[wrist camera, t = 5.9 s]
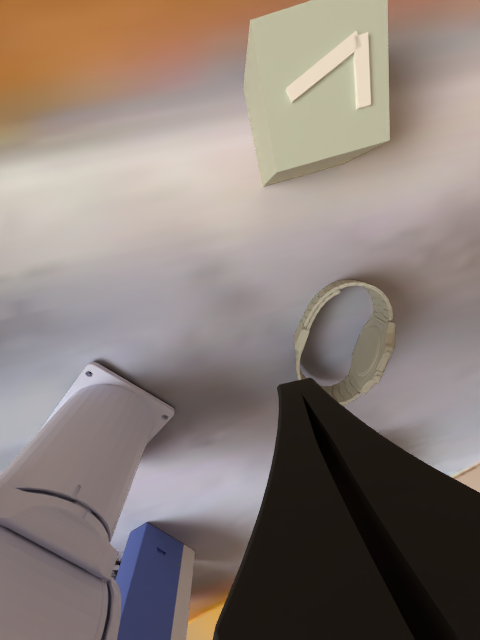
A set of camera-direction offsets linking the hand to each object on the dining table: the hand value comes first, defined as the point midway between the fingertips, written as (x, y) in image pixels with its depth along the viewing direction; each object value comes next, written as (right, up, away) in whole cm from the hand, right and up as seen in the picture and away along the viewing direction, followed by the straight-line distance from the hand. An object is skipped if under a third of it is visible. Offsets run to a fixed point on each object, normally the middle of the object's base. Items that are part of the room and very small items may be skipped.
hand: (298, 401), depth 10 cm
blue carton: (-11, -22, +19) cm, 32 cm away
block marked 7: (+1, +14, +5) cm, 15 cm away
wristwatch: (+5, +2, +10) cm, 11 cm away
